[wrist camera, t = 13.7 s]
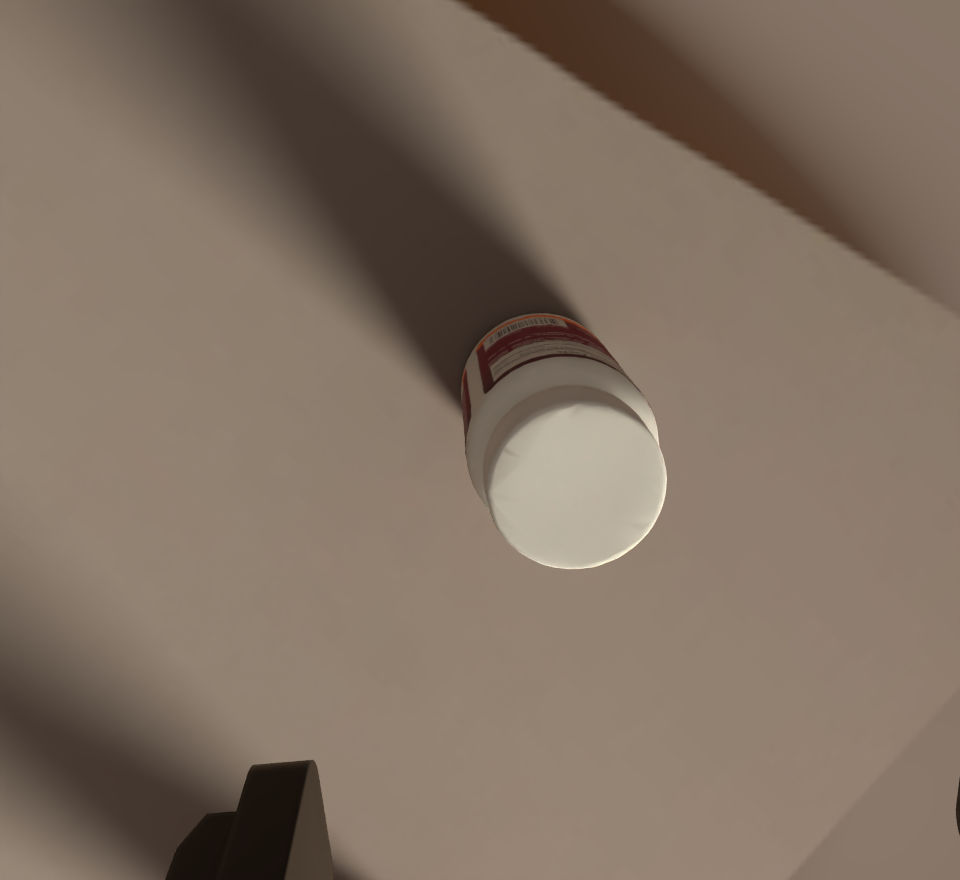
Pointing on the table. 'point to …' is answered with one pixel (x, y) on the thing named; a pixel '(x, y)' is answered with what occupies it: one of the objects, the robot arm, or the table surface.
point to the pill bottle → (560, 443)
